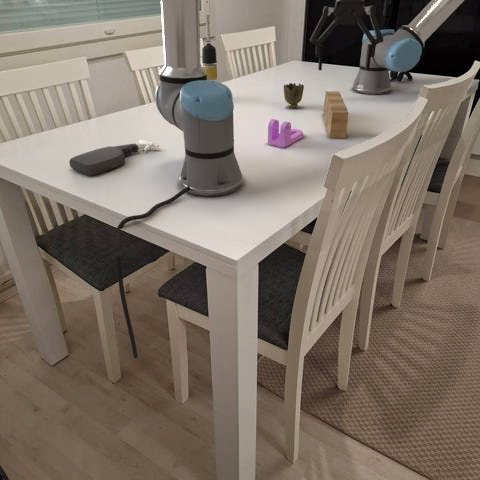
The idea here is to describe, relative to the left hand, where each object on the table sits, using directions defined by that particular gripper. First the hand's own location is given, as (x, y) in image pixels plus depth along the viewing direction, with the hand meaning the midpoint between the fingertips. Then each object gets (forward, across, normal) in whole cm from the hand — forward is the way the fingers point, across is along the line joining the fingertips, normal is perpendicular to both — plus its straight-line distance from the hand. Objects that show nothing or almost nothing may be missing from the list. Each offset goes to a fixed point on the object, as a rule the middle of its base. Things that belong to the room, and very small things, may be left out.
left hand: (343, 69), depth 130 cm
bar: (+19, 0, -8) cm, 21 cm away
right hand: (-10, -11, -38) cm, 41 cm away
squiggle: (+20, -35, -74) cm, 84 cm away
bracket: (+19, +16, +7) cm, 26 cm away
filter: (+19, +46, -41) cm, 64 cm away
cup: (+19, +14, -29) cm, 37 cm away
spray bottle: (+19, +63, +25) cm, 70 cm away
